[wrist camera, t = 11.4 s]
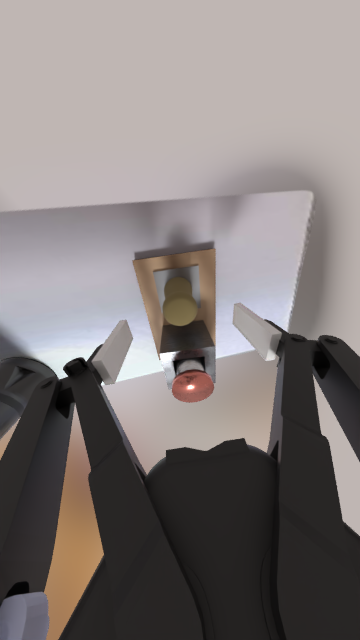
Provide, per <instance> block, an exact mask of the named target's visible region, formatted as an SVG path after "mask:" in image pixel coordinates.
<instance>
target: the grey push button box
mask: <svg viewBox="0 0 360 640" xmlns="http://www.w3.org/2000/svg"><path fill="white" fill-rule="evenodd" d="M195 357H200V358H201V361H202V365H203V369H204V371H205V372H207V373H208V374H209V375H210V376H211V378H212V381H213V383H215V344H214V342H213V340H212V338H211V336H210V333H209V331H208V329H207V327H206V325H205V323H204V320H199V321H192V322H190V323H189V324H187V325H184V326H176V325H173V324H170V325H163V327H162V336H161V345H160V358H161V362H162V366H163V369H164V373H165V376H166V381H167V384H168V388H169V389H172V381H173V379H174V378H175V377H176V376H177V368H176V360H181V359H188V358H195Z"/></svg>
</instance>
